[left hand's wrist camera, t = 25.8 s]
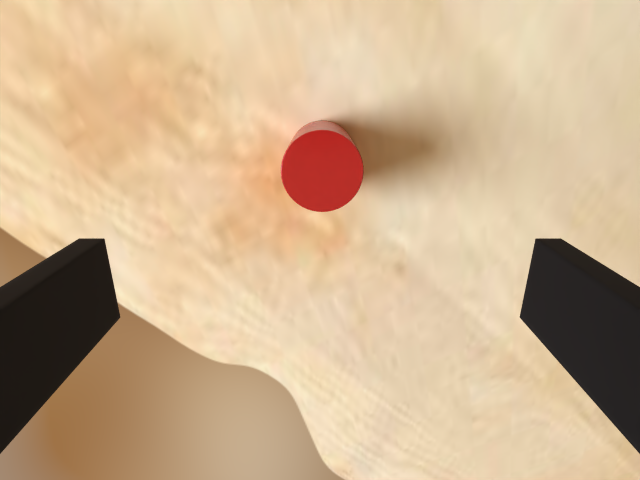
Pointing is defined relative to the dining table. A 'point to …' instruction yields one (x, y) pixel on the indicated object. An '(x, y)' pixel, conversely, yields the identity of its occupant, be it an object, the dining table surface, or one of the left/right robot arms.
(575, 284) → the left robot arm
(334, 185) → the canister
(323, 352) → the dining table surface
